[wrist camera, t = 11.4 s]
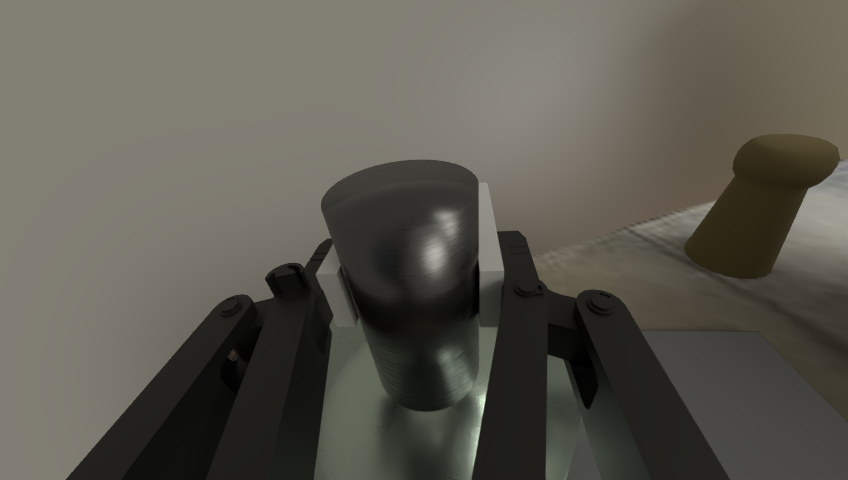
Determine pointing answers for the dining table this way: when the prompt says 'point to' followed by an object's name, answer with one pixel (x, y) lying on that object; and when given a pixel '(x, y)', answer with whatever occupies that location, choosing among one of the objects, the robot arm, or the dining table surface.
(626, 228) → the dining table surface
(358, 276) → the cover
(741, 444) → the mat
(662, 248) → the dining table surface
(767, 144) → the cork
